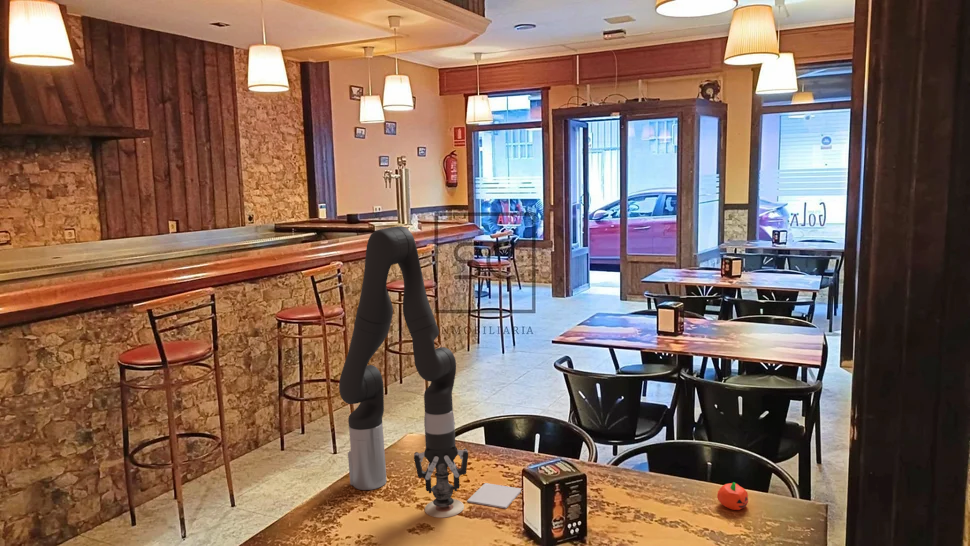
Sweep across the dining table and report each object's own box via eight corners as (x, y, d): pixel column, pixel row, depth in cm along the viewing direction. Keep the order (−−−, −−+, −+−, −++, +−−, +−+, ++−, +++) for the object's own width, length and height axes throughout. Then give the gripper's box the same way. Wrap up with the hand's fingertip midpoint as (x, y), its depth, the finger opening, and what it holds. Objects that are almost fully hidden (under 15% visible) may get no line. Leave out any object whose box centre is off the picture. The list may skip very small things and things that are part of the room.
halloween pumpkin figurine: (748, 503, 168) (752, 479, 166) (744, 518, 161) (748, 493, 159) (718, 494, 171) (722, 471, 170) (713, 508, 164) (716, 484, 163)
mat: (467, 501, 175) (467, 500, 175) (485, 484, 184) (485, 482, 184) (506, 508, 170) (506, 507, 170) (522, 490, 180) (522, 488, 180)
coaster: (417, 513, 170) (417, 513, 169) (436, 496, 178) (436, 495, 178) (452, 520, 165) (452, 519, 165) (470, 502, 174) (470, 501, 174)
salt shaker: (451, 507, 169) (449, 462, 167) (429, 506, 170) (426, 461, 168) (457, 497, 174) (455, 452, 173) (435, 495, 175) (433, 451, 174)
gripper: (410, 435, 165) (414, 500, 167) (469, 430, 166) (472, 495, 168) (411, 424, 172) (414, 486, 175) (467, 420, 174) (470, 482, 176)
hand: (443, 490), depth 172 cm, fingers closed on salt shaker, 6 cm apart
